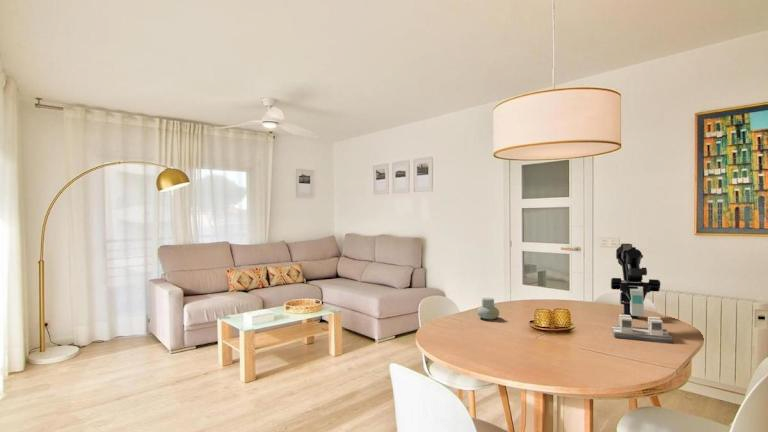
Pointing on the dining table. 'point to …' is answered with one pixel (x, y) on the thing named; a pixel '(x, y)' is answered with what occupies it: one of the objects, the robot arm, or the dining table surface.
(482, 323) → the dining table surface
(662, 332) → the rail board
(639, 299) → the block
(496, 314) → the air freshener
